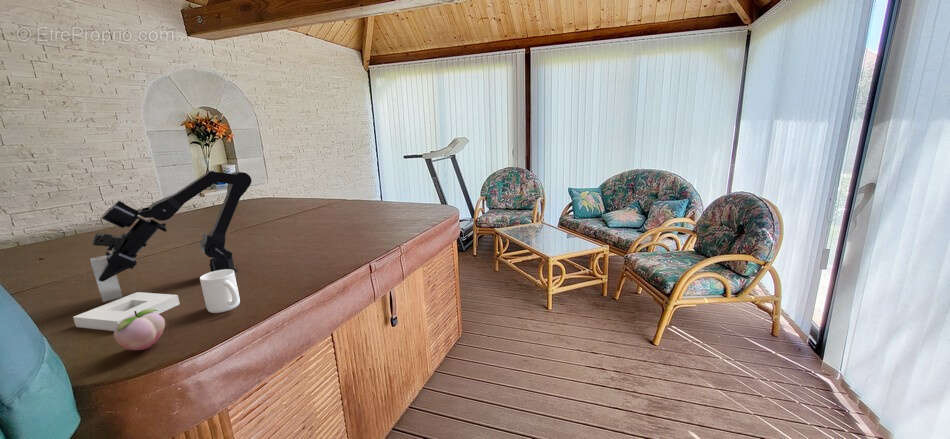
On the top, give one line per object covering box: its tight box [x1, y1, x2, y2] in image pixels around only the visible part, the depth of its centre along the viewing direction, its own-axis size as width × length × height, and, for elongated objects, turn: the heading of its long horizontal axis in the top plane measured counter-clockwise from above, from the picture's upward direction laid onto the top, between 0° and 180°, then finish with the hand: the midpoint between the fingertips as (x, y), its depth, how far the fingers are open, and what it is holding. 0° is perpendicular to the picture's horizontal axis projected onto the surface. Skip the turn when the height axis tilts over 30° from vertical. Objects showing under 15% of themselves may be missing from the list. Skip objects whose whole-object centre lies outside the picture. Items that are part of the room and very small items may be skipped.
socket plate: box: [72, 291, 180, 332], centre depth 106 cm, size 16×16×3 cm
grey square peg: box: [89, 254, 123, 303], centre depth 113 cm, size 4×4×13 cm
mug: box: [199, 269, 241, 314], centre depth 107 cm, size 12×8×10 cm
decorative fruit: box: [113, 309, 166, 351], centre depth 87 cm, size 9×8×10 cm
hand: (100, 279), depth 112 cm, fingers closed on grey square peg, 4 cm apart
